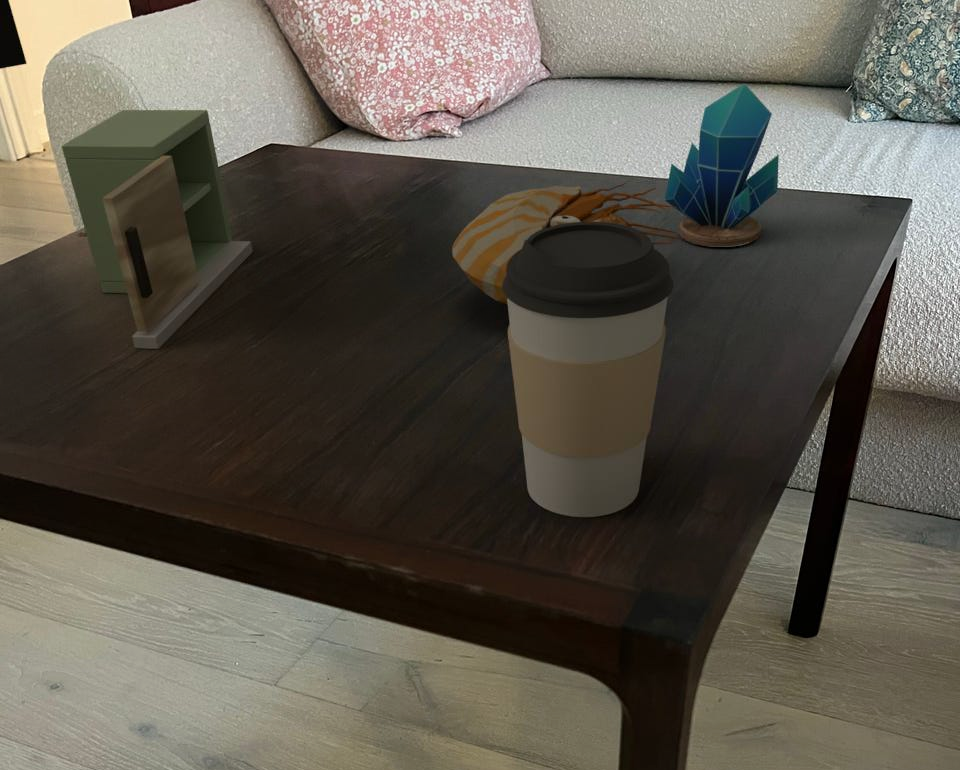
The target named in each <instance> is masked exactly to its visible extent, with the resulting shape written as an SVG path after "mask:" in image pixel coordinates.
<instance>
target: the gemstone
mask: <svg viewBox="0 0 960 770" xmlns="http://www.w3.org/2000/svg"><path fill="white" fill-rule="evenodd" d="M772 115H773V113H772V112H771V111H770V110H769V109H768V108H767V106H766V105H765V104H764V103H763V102H762V101H761V100H760V99H759V98H758V97H757V95H756V94H755V93H754V92H753V91H752V90H751V89H750V88H749V87H748V86H747V84H746V83H742V84H741V85H739V86H738V87H736V88H735V89H732V90H731V91H729V92H728V93H727V94H725V95H723V96H722V97H720V98H718V99H717V100H715V101H714V102H712V103H711V104H709V105H707V106H706V107H704V110H703V114H702V120H701V123H700V128H699V140H698V141H699V142H698V148H697V147H696V145H695V144H694V142H691V145H690V149H689V151H688V154H687V158H686V161H685V165H684V169H683V171H682V169H679V167H677V166H676V165H674V164H673V163H671V165H670V170H669V175H668V180H667V185H666V190H665V195H664V200H663V201H665V202H666V203H668V205H669V206H674V207H676V208H677V209H676V210H677V211H679V212H680V213H681V214H682V215H684V216H685V217H686V218H684V219H683V220H682V221H681V222H680V223H679V229H678V233H679V236H680V238H681V239H683V238H684V239H685V240H687V241H689V242H692V243H695V244H698V245H704V246H715V247H716V246H721V247H722V246H732V245H733V246H734V245H739V244H744V243H747V242H751V241H753V240H755V239H756V238H757V239H758V238H759V237H760V236H759V235H761V230H762V229H761V228H762V225H761V224H760V222H759V221H758V220H757V219H755V218H754V217H752V216H751V215H752V214H753V213H755V212H756V211H757V210H759V209H760V208H761V207H762V206H763V204H765V202H766V201H768V200H769V199H770V198H772V197H773V196H774V195H776V194H777V193H778V189H779V188H778V186H779V185H778V184H779V161H780V159H779V157H780V156H779V155H780V154H777V155H776V156H774V157H773V158H772V159H771V160H769V161H768V162H767V163H766V164H764V165H762V167H761V168H759V169H758V170H757V171H756V172H755V173H753V174H752V175H750V177H749V174H750V173H751V170H752V167H753V165H754V164H755V161H756V159H757V156H758V154H759V152H760V149H761V146H762V143H763V140H764V137H765V135H766V132H767V130H768V127H769V123H770V121H771V118H772ZM758 236H759V237H758ZM684 239H683V240H684ZM757 239H756V240H757ZM685 240H684V241H685ZM756 240H755V241H756ZM687 241H686V242H687ZM689 242H688V243H689Z"/></svg>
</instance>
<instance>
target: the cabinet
mask: <svg viewBox="0 0 960 770" xmlns="http://www.w3.org/2000/svg"><path fill="white" fill-rule="evenodd" d="M61 149H62V153H63V156H64V160H65V163H66V164H65V165H66V168H67V169H68V170H67V171H68V174H69V178H70V181H71V185H72V189H73V191H74V195H75V200H76V203H77V206H78V210H79V214H80V216H81V220H82V224H83V228H84V231H85V235H86V238H87V242H88V245H89V248H90V249H89V250H90V252H91V257H92V260H93V263H94V266H95V270H96V273H97V277H98V280H99V284H100V289H101V290H102V291H101V292H102V293H103V294H104V293H106V294H128V293H127V289H126V286H125V282H124V278H123V274H122V271H121V267H120V263H119V259H118V256H117V252H116V248H115V244H114V241H113V237H112V233H111V229H110V226H109V222H108V218H107V214H106V211H105V207H104V203H103V199H102V198H103V197H105V196H106V195H107V194H109V193H110V192H112V191H113V190H115V189H116V188H117V187H119V186H120V185H122V184H123V183H125V182H126V181H127V180H129V179H130V178H132V177H133V176H134V175H136V174H137V173H139V172H140V171H142V170H143V169H144V168H146V167H147V166H149V165H150V164H152V163H153V162H154V161H156V160H157V159H159V158H160V157H162V156H172V160H173V164H174V169H175V173H176V178H177V182H178V187H179V191H180V196H181V200H182V205H183V210H184V214H185V219H186V223H187V228H188V232H189V237H190V241H191V246H192V250H193V255H194V260H195V264H196V269H197V273H198V278H199V281H198V282H197V283H196V284H195V285H194V286H193V287H192V288H191V289H190V290H189V291H188V292H187V293H186V294H185V295H184V296H183V297H182V298H181V299H180V300H179V301H178V302H177V303H176V304H175V305H174V306H173V307H172V308H171V309H170V310H169V311H168V312H167V313H166V314H165V315H164V316H163V317H162V318H161V319H160V320H159V321H157V322H156V323H155V324H154V325H153V326H152V327H151V328H150V329H149V330H148V331H147V332H138V331H136V332H135V333H134V334H132V336H131V339H132V342H133V346H134V349H143V350H144V349H145V350H146V349H147V350H159V349H160V348H161V347H162V346H163V345H164V344H165V343H167V341H168V340H169V339H170V338H171V337H172V336H173V335H174V334H175V333H176V332H177V331H178V329H180V328H181V327H182V326H183V324H184V323H185V322H186V321H187V320H188V319H189V318H191V316H192V315H193V314H195V312H196V311H197V310H198V309H199V308H200V307H201V306H202V305H203V304H204V303H205V302H206V301H207V300H208V299H209V298H210V297H211V296H212V295H213V294H214V292H216V290H218V288H219V287H220V286H221V285H222V284H223V283H225V282H226V280H227V279H228V278H229V277H230V276H231V275H233V273H234V272H235V271H236V270H237V269H238V268H239V267H240V266H241V265H242V264H243V263H244V262H245V261H246V260H247V259H248V258H249V257H250V256H251V254H253V252H254V250H253V245H252V242H251V241H248V240H247V241H245V240H244V241H243V240H234V239H233V233H232V229H231V224H230V218H229V214H228V208H227V203H226V198H225V193H224V189H223V182H222V178H221V173H220V166H219V162H218V158H217V153H216V147H215V142H214V137H213V132H212V126H211V122H210V116H209V112H208V110H207V109H122V110H120V111H118V112H117V113H115V114H113V115H112V116H110V117H108V118H107V119H105V120H103V121H101V122H100V123H98V124H97V125H95V126H93V127H91V128H90V129H88V130H86V131H84V132H83V133H81V134H78V136H76V137H74V138H73V139H71V140H69V141H67V142H65V143H64V144H62V145H61Z"/></svg>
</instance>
